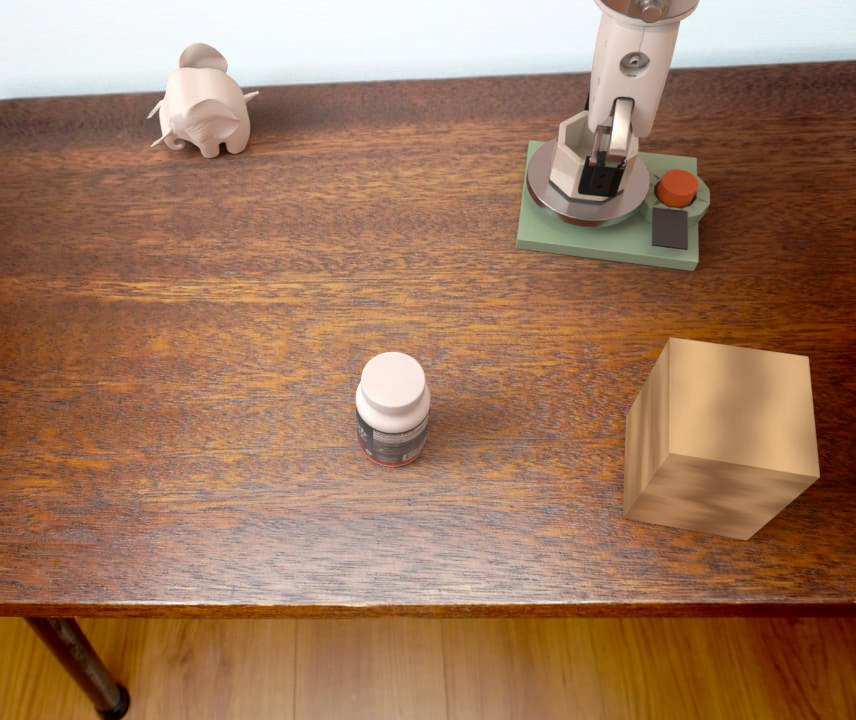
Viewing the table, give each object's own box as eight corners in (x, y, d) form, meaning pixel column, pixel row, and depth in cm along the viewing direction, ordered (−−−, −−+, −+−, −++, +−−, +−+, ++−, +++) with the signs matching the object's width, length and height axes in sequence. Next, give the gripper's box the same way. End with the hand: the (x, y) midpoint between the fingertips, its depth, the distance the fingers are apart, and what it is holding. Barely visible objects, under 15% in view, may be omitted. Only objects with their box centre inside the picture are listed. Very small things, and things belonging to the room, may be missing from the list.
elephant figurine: (149, 120, 89) (128, 51, 82) (257, 99, 90) (246, 29, 82) (158, 182, 84) (136, 116, 77) (272, 160, 85) (261, 92, 77)
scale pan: (686, 150, 78) (689, 143, 77) (687, 250, 72) (690, 243, 71) (531, 134, 80) (532, 127, 79) (519, 229, 74) (521, 222, 73)
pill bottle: (357, 406, 69) (354, 344, 61) (425, 406, 69) (431, 343, 60) (357, 469, 66) (354, 412, 58) (427, 469, 66) (434, 412, 57)
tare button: (692, 184, 76) (698, 171, 75) (692, 210, 75) (698, 197, 73) (656, 180, 77) (661, 167, 75) (655, 206, 75) (661, 193, 74)
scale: (698, 168, 81) (708, 145, 78) (700, 272, 74) (711, 251, 72) (527, 150, 83) (532, 127, 81) (515, 248, 77) (519, 227, 74)
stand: (742, 434, 66) (808, 356, 56) (746, 540, 61) (820, 477, 51) (625, 416, 67) (669, 336, 57) (622, 518, 63) (669, 452, 53)
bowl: (626, 152, 77) (639, 115, 73) (624, 206, 74) (637, 170, 70) (552, 144, 78) (561, 107, 74) (547, 197, 75) (556, 161, 71)
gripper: (708, 58, 54) (640, 232, 68) (703, -89, 62) (644, 92, 77) (590, 49, 55) (548, 221, 69) (601, -94, 64) (561, 85, 78)
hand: (598, 153), depth 73 cm, fingers open, 9 cm apart
